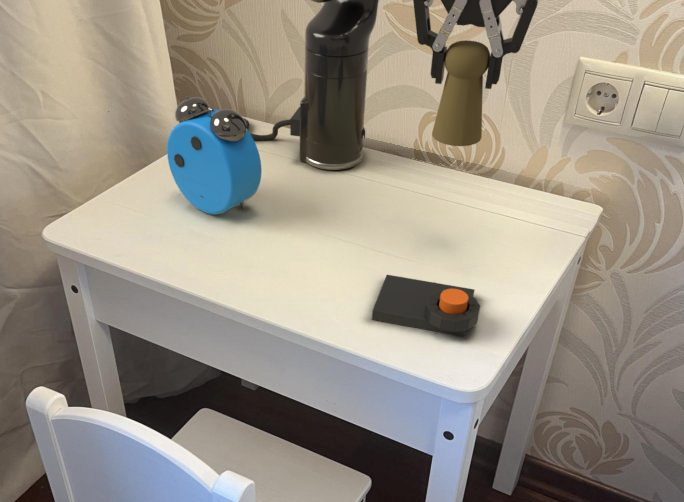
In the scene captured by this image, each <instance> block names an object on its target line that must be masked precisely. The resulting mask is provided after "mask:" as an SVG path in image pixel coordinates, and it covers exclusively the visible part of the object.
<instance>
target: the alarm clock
mask: <svg viewBox="0 0 684 502" xmlns="http://www.w3.org/2000/svg"><path fill="white" fill-rule="evenodd" d="M174 117H175V120H176V122H179V121H181V122H179V123H177V124H176V125H175V126H174V127H173V128H172V130H171V131H170V133H169V136H168V140H167V146H166V155H167V161H168V167H169V169H170V172H171V176H172V178H173V180H174V182H175V184H176V186H177V188H178V189H179V191H180V192H181V194H182V195H183V196H184V198H185V199H186V200H187V201H188V203H190V204H191V205H192V206H193V207H194V208H196V209H197V210H199V211H201V212H203V213H205V214H208V215H220V214H223V213H225V212H227V211H229V210H231V209H232V208H234V207H236V206H238V205H240V207H241V209H245V208H246V207H245V202H246V201H248V200H250V199H251V198H252V197H253V196H254V195H255V194H256V193H257V191H258V189H259V187H260V184H261V180H262V160H261V155H260V152H259V149H258V146H257V144H256V142H255V140H253V138H252V136H251V134H252V133H251V132H250V131H249V130H247V128H246V122H245V120H244V118H245V117H243V116H242V115H241V114H240V113H239V112H238V111H236V110H234V109H231V108H222V109H214V108H212V107H211V106H210V104H209V102H208V101H207V100H206V99H204V98H203V97H200V96H193V97H188V95H187V96H185V100H182V101H181V102H180V103H179V104H178V105H177V106H176V109H175V112H174ZM185 119H186V120H185ZM182 120H183V121H182ZM250 133H251V134H250Z"/></svg>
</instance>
